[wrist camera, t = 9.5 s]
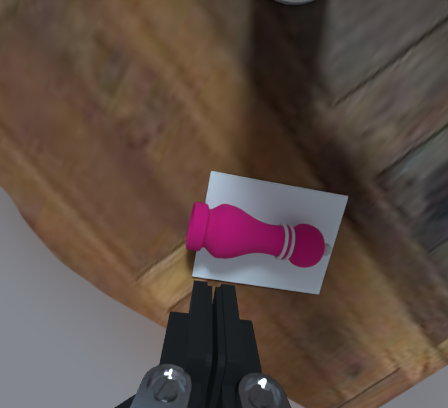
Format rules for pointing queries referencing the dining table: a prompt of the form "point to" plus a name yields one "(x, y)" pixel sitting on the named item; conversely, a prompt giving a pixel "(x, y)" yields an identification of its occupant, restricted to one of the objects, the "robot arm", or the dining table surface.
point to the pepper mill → (252, 236)
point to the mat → (271, 214)
